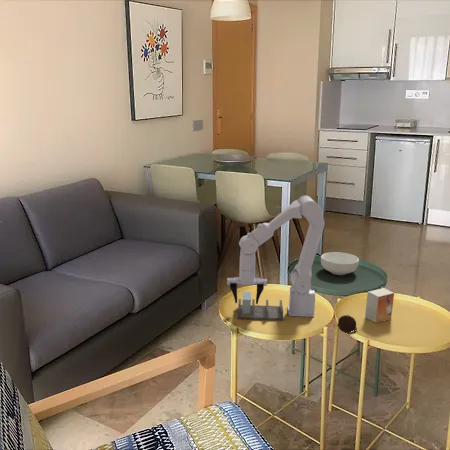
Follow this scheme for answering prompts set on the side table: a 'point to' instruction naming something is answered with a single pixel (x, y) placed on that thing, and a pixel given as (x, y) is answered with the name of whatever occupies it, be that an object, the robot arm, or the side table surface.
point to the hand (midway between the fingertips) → (246, 302)
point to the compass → (347, 323)
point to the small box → (379, 305)
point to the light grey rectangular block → (246, 303)
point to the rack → (262, 312)
